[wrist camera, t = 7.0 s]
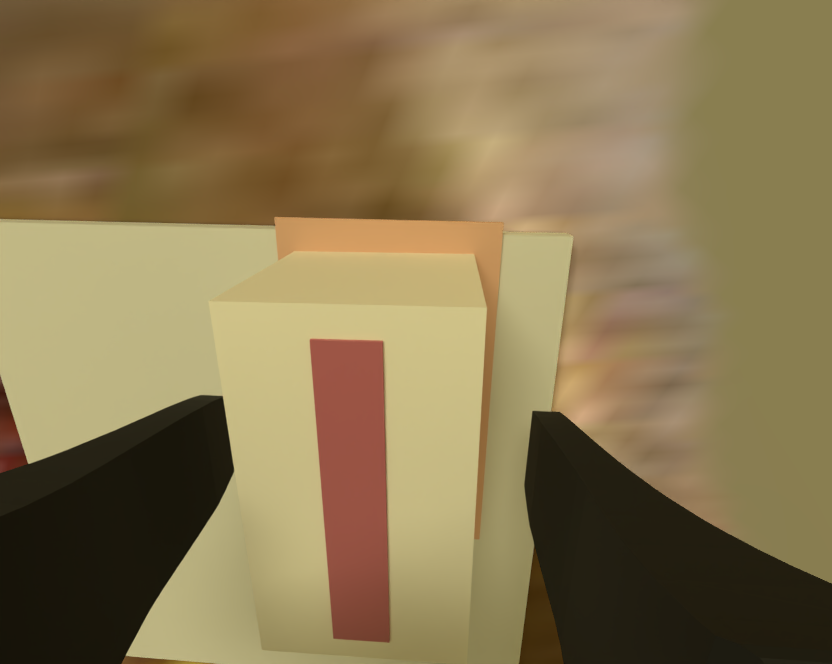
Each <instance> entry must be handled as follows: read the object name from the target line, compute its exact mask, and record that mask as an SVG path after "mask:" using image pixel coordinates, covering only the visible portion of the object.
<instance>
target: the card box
mask: <svg viewBox="0 0 832 664" xmlns="http://www.w3.org/2000/svg"><path fill="white" fill-rule="evenodd" d="M208 302H209V309H210V315H211V322H212V328H213V335H214V342H215V348H216V355H217V361H218V368H219V374H220V381H221V387H222V394H223V400H224V407H225V413H226V420H227V426H228V433H229V439H230V446H231V452H232V459H233V465H234V472H235V478H236V485H237V491H238V498H239V504H240V511H241V517H242V524H243V530H244V537H245V543H246V550H247V556H248V563H249V569H250V576H251V582H252V589H253V595H254V602H255V608H256V615H257V621H258V628H259V634H260V641H261V648H262V650H267V651H281V652H295V653H309V654H322V655H336V656H350V657H363V658H377V659H391V660H405V661H418V662H432V663H446V664H467V653H468V635H469V618H470V600H471V582H472V564H473V546H474V529H475V511H476V493H477V475H478V458H479V440H480V422H481V404H482V386H483V369H484V351H485V333H486V315H487V306H486V302H485V297H484V293H483V289H482V285H481V281H480V276H479V272H478V268H477V264H476V259H475V255H474V254H443V253H379V252H316V251H294V252H292V253H291V254H289V255H287V256H285V257H284V258H282V259H280V260H278V261H277V262H275V263H273V264H272V265H270V266H268V267H266V268H265V269H263V270H261V271H260V272H258V273H256V274H254V275H253V276H251V277H249V278H247V279H246V280H244V281H242V282H241V283H239V284H237V285H235V286H234V287H232V288H230V289H229V290H227V291H225V292H223V293H222V294H220V295H218V296H216V297H215V298H213V299H211V300H210V301H208Z"/></svg>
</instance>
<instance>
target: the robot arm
mask: <svg viewBox="0 0 832 664" xmlns="http://www.w3.org/2000/svg"><path fill="white" fill-rule="evenodd" d="M233 473H234V465H233V459H232V452H231V446H230V439H229V433H228V426H227V420H226V413H225V407H224V400H223V396H213V395H199V396H195V397H192V398H189V399H186V400H184V401H181V402H179V403H176V404H174V405H171V406H169V407H167V408H164V409H162V410H160V411H157V412H155V413H153V414H151V415H148V416H146V417H144V418H142V419H139V420H137V421H135V422H132V423H130V424H128V425H126V426H123V427H121V428H119V429H117V430H114V431H112V432H109V433H107V434H105V435H102V436H100V437H97V438H95V439H92V440H90V441H87V442H85V443H83V444H80V445H78V446H75V447H73V448H70V449H68V450H65V451H63V452H60V453H58V454H55V455H52V456H50V457H47V458H44V459H41V460H38V461H36V462H33V463H30V464H27V465H24V466H21V467H18V468H15V469H12V470H9V471H6V472H3V473H0V664H121V663H122V661H123V659H124V658H125V656H126V654H127V652H128V650H129V648H130V646H131V645H132V643H133V641H134V639H135V637H136V635H137V633H138V631H139V630H140V628H141V626H142V624H143V622H144V620H145V618H146V616H147V615H148V613H149V611H150V610H151V608H152V606H153V605H154V603H155V601H156V600H157V598H158V596H159V595H160V593H161V592H162V590H163V589H164V587H165V586H166V584H167V583H168V581H169V580H170V578H171V577H172V575H173V574H174V572H175V571H176V569H177V568H178V566H179V565H180V563H181V562H182V560H183V559H184V557H185V556H186V554H187V553H188V551H189V550H190V548H191V547H192V545H193V544H194V542H195V541H196V539H197V538H198V536H199V534H200V533H201V531H202V530H203V528H204V527H205V525H206V524H207V522H208V521H209V519H210V518H211V516H212V515H213V513H214V511H215V510H216V508H217V507H218V505H219V503H220V501H221V499H222V497H223V495H224V493H225V491H226V489H227V486H228V484H229V482H230V480H231V478H232V475H233ZM524 489H525V497H526V505H527V512H528V519H529V526H530V529H531V533H532V537H533V541H534V545H535V549H536V552H537V556H538V560H539V564H540V567H541V571H542V575H543V578H544V582H545V586H546V589H547V593H548V597H549V600H550V604H551V608H552V611H553V615H554V619H555V623H556V627H557V631H558V636H559V640H560V645H561V650H562V656H563V662H564V664H832V584H831V583H829V582H827V581H824V580H822V579H820V578H818V577H815V576H813V575H811V574H809V573H807V572H804V571H802V570H800V569H798V568H795V567H793V566H791V565H789V564H787V563H785V562H783V561H781V560H778V559H777V558H774V557H772V556H770V555H768V554H766V553H764V552H762V551H760V550H758V549H756V548H754V547H752V546H751V545H749V544H747V543H745V542H743V541H741V540H739V539H737V538H735V537H734V536H732V535H730V534H728V533H726V532H724V531H722V530H720V529H719V528H717V527H715V526H713V525H712V524H710V523H708V522H706V521H705V520H703V519H701V518H700V517H698V516H696V515H695V514H693V513H692V512H690V511H688V510H687V509H685V508H684V507H682V506H680V505H679V504H677V503H676V502H674V501H672V500H671V499H669V498H668V497H666V496H665V495H663V494H662V493H660V492H659V491H657V490H656V489H655V488H653V487H652V486H650V485H649V484H648V483H646V482H645V481H644V480H642V479H641V478H639V477H638V476H637V475H635V474H634V473H633V472H631V471H630V470H629V469H627V468H626V467H625V466H624V465H622V464H621V463H620V462H618V461H617V460H616V459H615V458H614V457H612V456H611V455H610V454H609V453H607V452H606V451H605V450H604V449H603V448H601V447H600V446H599V445H598V444H597V443H596V442H594V441H593V440H592V439H591V438H590V437H589V436H588V435H586V434H585V433H584V432H583V431H582V430H581V429H579V428H578V427H577V426H576V425H575V424H574V423H573V422H571V421H570V420H569V419H568V418H567V417H566V416H564V415H563V414H562V413H560V412H549V411H532V419H531V428H530V437H529V446H528V455H527V463H526V472H525V481H524Z"/></svg>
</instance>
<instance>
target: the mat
mask: <svg viewBox="0 0 832 664" xmlns="http://www.w3.org/2000/svg"><path fill="white" fill-rule="evenodd" d="M274 218H275V226H260V225H219V224H179V223H138V222H97V221H57V220H16V219H0V375H1V378H2V382H3V385H4V388H5V391H6V394H7V397H8V401H9V404H10V407H11V410H12V413H13V416H14V420H15V423H16V426H17V429H18V432H19V435H20V439H21V442H22V445H23V448H24V451H25V454H26V458H27V461H28V464H30V463H33V462H36V461H38V460H41V459H44V458H47V457H50V456H52V455H55V454H58V453H60V452H63V451H65V450H68V449H70V448H73V447H75V446H78V445H80V444H83V443H85V442H87V441H90V440H92V439H95V438H97V437H100V436H102V435H105V434H107V433H109V432H112V431H114V430H117V429H119V428H121V427H123V426H126V425H128V424H130V423H132V422H135V421H137V420H139V419H142V418H144V417H146V416H148V415H151V414H153V413H155V412H157V411H160V410H162V409H164V408H167V407H169V406H171V405H174V404H176V403H179V402H181V401H184V400H186V399H189V398H192V397H195V396H199V395H213V396H223V394H222V387H221V381H220V374H219V368H218V361H217V355H216V348H215V342H214V335H213V328H212V322H211V315H210V309H209V302H208V301H210V300H211V299H213V298H215V297H216V296H218V295H220V294H222V293H223V292H225V291H227V290H229V289H230V288H232V287H234V286H235V285H237V284H239V283H241V282H242V281H244V280H246V279H247V278H249V277H251V276H253V275H254V274H256V273H258V272H260V271H261V270H263V269H265V268H266V267H268V266H270V265H272V264H273V263H275V262H277V261H278V260H280V259H282V258H284V257H285V256H287V255H289V254H291V253H292V252H294V251H316V252H379V253H443V254H474V255H475V259H476V264H477V268H478V272H479V276H480V281H481V285H482V289H483V293H484V297H485V302H486V306H487V315H486V333H485V351H484V369H483V386H482V404H481V422H480V440H479V458H478V475H477V493H476V511H475V529H474V546H473V564H472V582H471V600H470V618H469V635H468V653H467V664H519V659H520V652H521V644H522V636H523V628H524V620H525V612H526V605H527V597H528V589H529V581H530V573H531V565H532V557H533V550H534V541H533V537H532V533H531V529H530V526H529V519H528V512H527V505H526V497H525V489H524V481H525V472H526V463H527V455H528V446H529V437H530V428H531V419H532V411H549V412H551V408H552V401H553V393H554V385H555V377H556V369H557V361H558V353H559V346H560V338H561V330H562V322H563V314H564V306H565V299H566V291H567V283H568V275H569V267H570V259H571V251H572V244H573V236H572V235H570V234H568V233H545V232H504V231H503V225H504V223H503V222H468V221H425V220H382V219H339V218H296V217H274ZM126 656H134V657H146V658H158V659H170V660H182V661H193V662H205V663H217V664H446V663H432V662H418V661H405V660H391V659H377V658H363V657H350V656H336V655H322V654H309V653H295V652H281V651H267V650H262V648H261V641H260V634H259V628H258V621H257V615H256V608H255V602H254V595H253V589H252V582H251V576H250V569H249V563H248V556H247V550H246V543H245V537H244V530H243V524H242V517H241V511H240V504H239V498H238V491H237V485H236V478H235V472H234V473H233V475H232V478H231V480H230V482H229V484H228V486H227V489H226V491H225V493H224V495H223V497H222V499H221V501H220V503H219V505H218V507H217V508H216V510H215V511H214V513H213V515H212V516H211V518H210V519H209V521H208V522H207V524H206V525H205V527H204V528H203V530H202V531H201V533H200V534H199V536H198V538H197V539H196V541H195V542H194V544H193V545H192V547H191V548H190V550H189V551H188V553H187V554H186V556H185V557H184V559H183V560H182V562H181V563H180V565H179V566H178V568H177V569H176V571H175V572H174V574H173V575H172V577H171V578H170V580H169V581H168V583H167V584H166V586H165V587H164V589H163V590H162V592H161V593H160V595H159V596H158V598H157V600H156V601H155V603H154V605H153V606H152V608H151V610H150V611H149V613H148V615H147V616H146V618H145V620H144V622H143V624H142V626H141V628H140V630H139V631H138V633H137V635H136V637H135V639H134V641H133V643H132V645H131V646H130V648H129V650H128V652H127V654H126Z"/></svg>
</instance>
